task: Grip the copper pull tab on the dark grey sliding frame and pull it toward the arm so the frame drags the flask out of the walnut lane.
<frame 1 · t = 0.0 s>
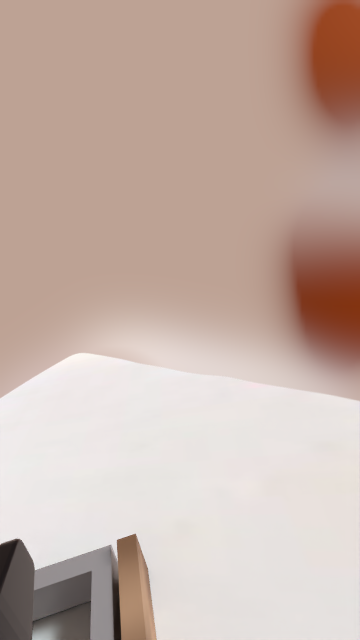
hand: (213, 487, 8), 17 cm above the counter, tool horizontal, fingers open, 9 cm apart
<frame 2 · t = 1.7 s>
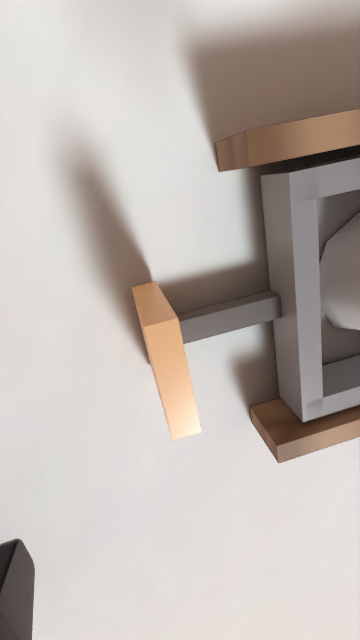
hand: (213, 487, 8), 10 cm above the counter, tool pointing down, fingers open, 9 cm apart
sliding frame: (349, 302, 16), point 3 cm above the counter, slide at 0.0 cm
lane rails: (353, 275, 19), on the counter
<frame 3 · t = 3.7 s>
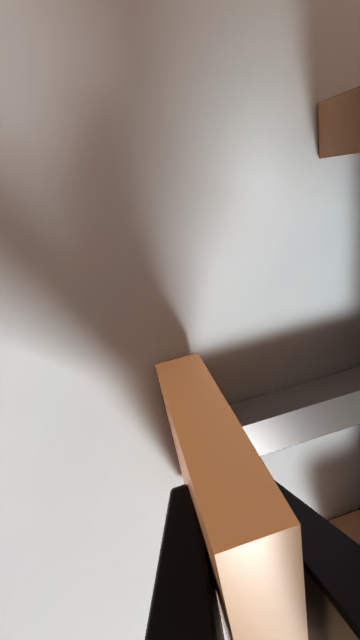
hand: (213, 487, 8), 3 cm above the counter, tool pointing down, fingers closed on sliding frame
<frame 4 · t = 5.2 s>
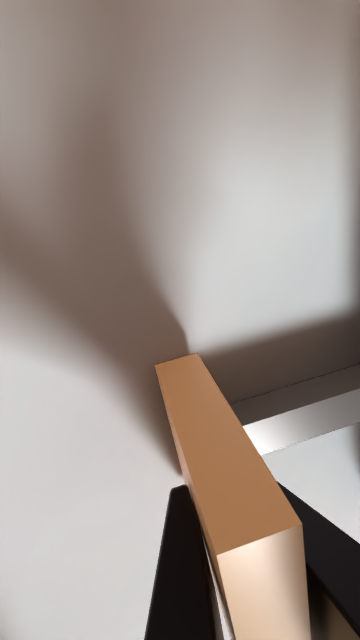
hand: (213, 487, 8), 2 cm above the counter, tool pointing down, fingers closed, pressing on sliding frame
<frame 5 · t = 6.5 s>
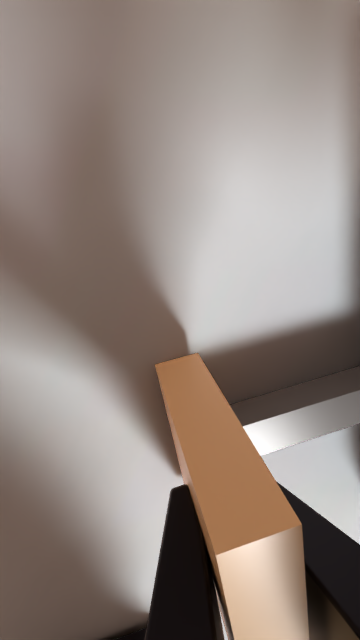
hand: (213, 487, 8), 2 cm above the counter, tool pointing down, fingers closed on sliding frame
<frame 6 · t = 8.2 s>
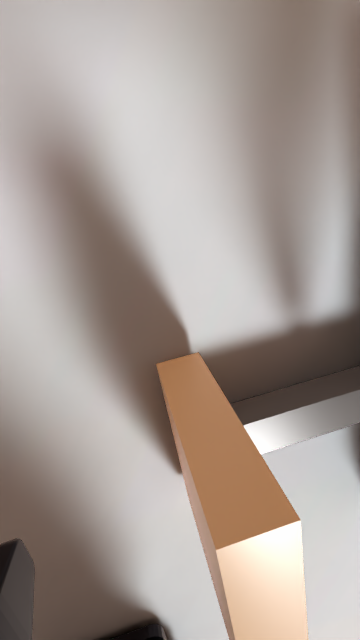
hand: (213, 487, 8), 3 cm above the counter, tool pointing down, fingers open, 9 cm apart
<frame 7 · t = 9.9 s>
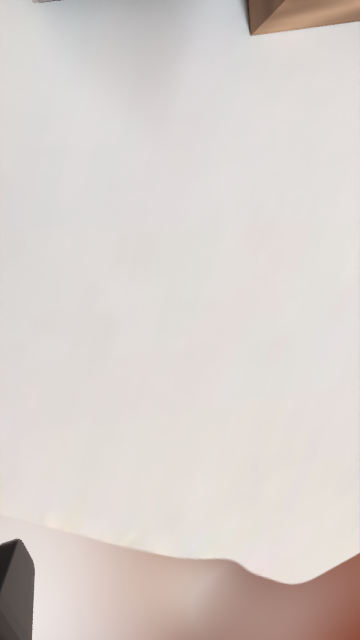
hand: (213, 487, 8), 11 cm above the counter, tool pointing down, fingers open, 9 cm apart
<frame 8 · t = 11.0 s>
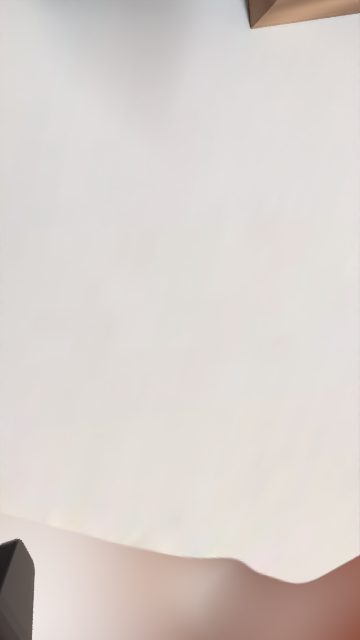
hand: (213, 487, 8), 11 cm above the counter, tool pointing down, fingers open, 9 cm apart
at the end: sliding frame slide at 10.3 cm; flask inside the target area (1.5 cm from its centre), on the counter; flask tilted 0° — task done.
